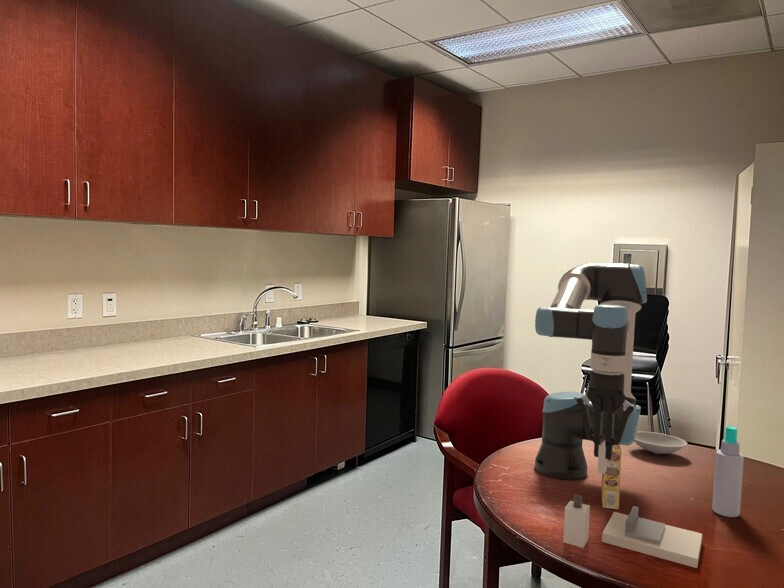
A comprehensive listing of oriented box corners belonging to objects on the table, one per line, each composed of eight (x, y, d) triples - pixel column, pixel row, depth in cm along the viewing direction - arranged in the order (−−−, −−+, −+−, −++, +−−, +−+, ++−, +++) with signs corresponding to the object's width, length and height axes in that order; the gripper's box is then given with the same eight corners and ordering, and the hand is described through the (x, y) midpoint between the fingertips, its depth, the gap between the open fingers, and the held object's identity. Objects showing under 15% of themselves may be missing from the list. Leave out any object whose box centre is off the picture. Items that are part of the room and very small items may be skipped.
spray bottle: (711, 513, 144) (716, 428, 143) (713, 505, 149) (718, 422, 148) (738, 520, 141) (745, 433, 139) (740, 511, 146) (746, 427, 144)
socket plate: (601, 541, 128) (602, 533, 128) (613, 519, 139) (614, 511, 139) (697, 568, 118) (697, 558, 118) (701, 542, 129) (702, 533, 129)
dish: (624, 454, 187) (624, 439, 187) (632, 442, 199) (632, 428, 199) (684, 465, 177) (685, 450, 177) (688, 453, 190) (689, 438, 189)
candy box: (619, 510, 145) (622, 451, 144) (601, 508, 146) (604, 449, 145) (616, 496, 153) (619, 440, 152) (600, 494, 154) (602, 438, 153)
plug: (563, 542, 128) (565, 497, 127) (568, 534, 132) (570, 490, 131) (583, 548, 126) (585, 502, 125) (588, 539, 129) (590, 495, 128)
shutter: (624, 535, 127) (625, 521, 127) (632, 519, 135) (633, 505, 135) (659, 544, 124) (660, 530, 123) (664, 527, 132) (665, 513, 132)
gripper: (574, 370, 133) (569, 469, 134) (634, 378, 126) (628, 482, 127) (582, 365, 139) (577, 460, 140) (640, 372, 132) (634, 472, 133)
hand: (602, 471), depth 134 cm, fingers closed
